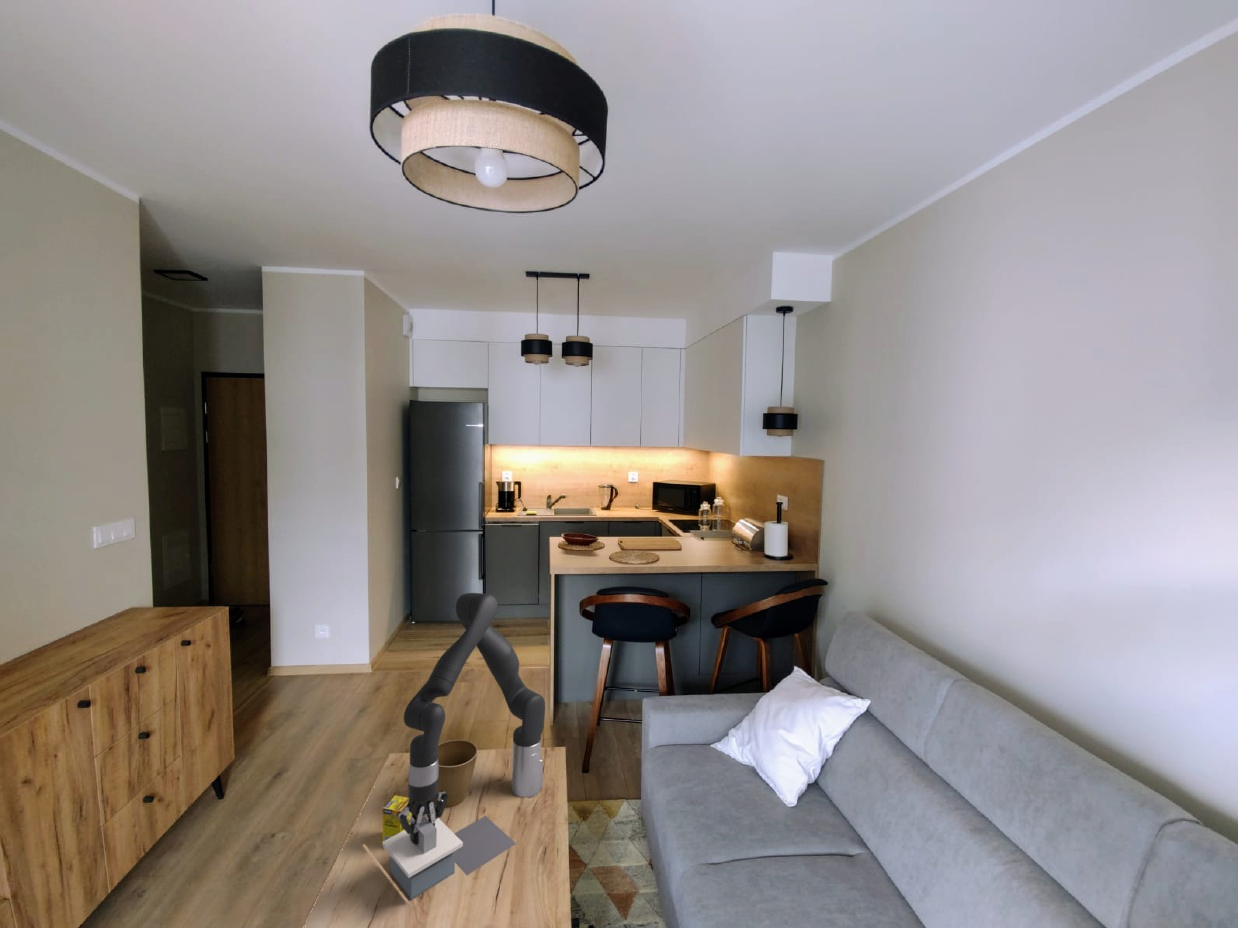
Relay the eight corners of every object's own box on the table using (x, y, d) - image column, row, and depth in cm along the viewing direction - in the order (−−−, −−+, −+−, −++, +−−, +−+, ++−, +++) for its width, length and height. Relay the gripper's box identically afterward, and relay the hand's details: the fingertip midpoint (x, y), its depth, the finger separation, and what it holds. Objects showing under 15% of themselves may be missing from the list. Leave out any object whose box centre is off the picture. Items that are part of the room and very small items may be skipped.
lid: (434, 817, 155) (435, 797, 155) (462, 846, 145) (463, 824, 145) (382, 845, 144) (382, 823, 144) (408, 877, 134) (408, 854, 134)
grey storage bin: (432, 850, 153) (432, 830, 153) (454, 874, 145) (454, 853, 145) (390, 874, 145) (390, 852, 144) (411, 901, 137) (411, 879, 136)
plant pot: (425, 819, 166) (426, 768, 165) (430, 788, 180) (431, 741, 179) (476, 813, 169) (477, 763, 168) (477, 783, 184) (477, 737, 183)
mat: (485, 817, 167) (485, 815, 167) (516, 845, 156) (516, 843, 156) (437, 844, 156) (437, 842, 156) (467, 877, 145) (467, 874, 145)
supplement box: (400, 848, 154) (400, 811, 153) (381, 845, 155) (381, 807, 154) (412, 833, 160) (412, 797, 159) (394, 830, 161) (394, 794, 160)
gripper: (441, 759, 151) (440, 819, 152) (390, 781, 141) (390, 845, 142) (455, 771, 146) (454, 833, 147) (404, 795, 136) (403, 861, 137)
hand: (422, 838), depth 145 cm, fingers closed on lid, 3 cm apart
